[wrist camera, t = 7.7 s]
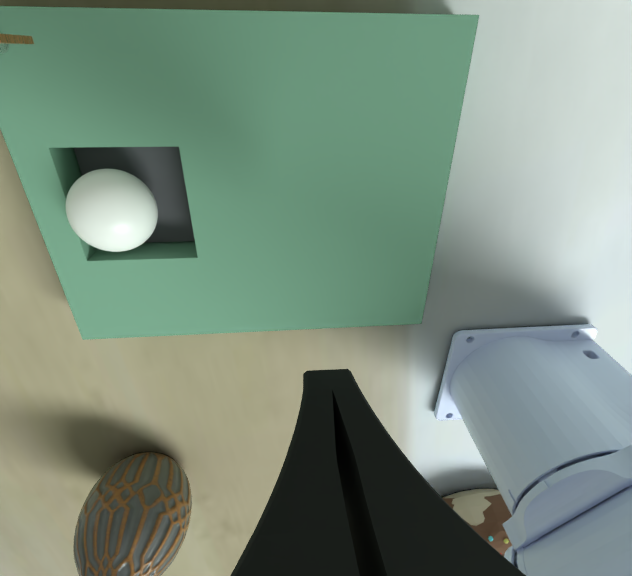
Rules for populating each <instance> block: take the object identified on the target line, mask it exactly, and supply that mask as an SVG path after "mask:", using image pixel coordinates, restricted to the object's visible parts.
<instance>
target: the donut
mask: <svg viewBox="0 0 632 576" xmlns="http://www.w3.org/2000/svg"><path fill="white" fill-rule="evenodd" d="M442 499H443V500H444V501H445V502H446V503H447V504H448V505H449V506H450V507H451V508H452V509H453V510H454V511H455V512H456V513H457V514H458V515H459V516H460V517H461V518H462V519H464V520H465V521H466V522H467V523H468V524H469V525H470V526H471V527H472V528H473V529H474V530H475V531H476V532H477V533H478V534H479V535H480V536H481V537H482V538H483V539H484V540H486V541H487V542H488V543H489V544H490V545H491V546H492V547H493V548H494V549H496V550H497V551H498V552H499V553H500V554H501V555H502V556H503V557H504V555H505V552H506V551H507V549H508V548H509V547H511V546H512V544H511V542H510V540H509V538H508V535H507V533H506V531H505V529H504V527H503V523H504V522H506V521H507V520H509V519H510V518H511V517H512V515H511V513H510V511H509V509H508V507H507V505H506V503H505V501H504V499H503V497H502V495H501V494H500V492H499V490H496V489H473V490H467V491H462V492H458V493H455V494H452V495H448V496H445V497H443V498H442Z"/></svg>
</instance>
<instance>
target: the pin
mask: <svg viewBox="0 0 632 576" xmlns="http://www.w3.org/2000/svg"><path fill="white" fill-rule="evenodd" d="M9 44H34V42H33V39H32V36H24V35H11V34H2V33H1V32H0V54H2V53H6V52H7V51H8V48H9Z"/></svg>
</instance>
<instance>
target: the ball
mask: <svg viewBox="0 0 632 576" xmlns="http://www.w3.org/2000/svg"><path fill="white" fill-rule="evenodd" d="M66 214H67V218H68V221H69V223H70V225H71V227H72V229H73V230H74V231H75V233H76V234H77V235H78V236H79V237H80V238H81V239H82V240H83V241H85V242H86V243H88V244H89V245H91V246H93V247H95V248H98V249H101V250H105V251H111V252H121V251H127V250H131V249H133V248H136V247H138V246H140V245H141V244H143V243H144V242H145V241H146V240H147V239H148V238H149V237H150V236H151V235H152V233H153V231H154V229H155V227H156V224H157V219H158V208H157V204H156V201H155V198H154V196H153V194H152V192H151V191H150V190H149V188H148V187H147V186H146V185H145V184H144V183H143V182H142V181H141V180H140V179H138V178H137V177H135V176H134V175H132V174H129V173H127V172H125V171H121V170H117V169H98V170H94V171H91V172H88V173H86V174H85V175H83V176H81V177H80V178H79V179H77V180H76V182H75V183H74V184H73V185H72V186H71V188H70V190H69V192H68V195H67V198H66Z"/></svg>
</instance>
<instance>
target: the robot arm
mask: <svg viewBox="0 0 632 576" xmlns="http://www.w3.org/2000/svg"><path fill="white" fill-rule="evenodd" d="M596 334H597V328H595V327H594V326H593V325H591V324H583V325H563V326H542V327H521V328H500V329H480V330H461V331H458V332H456V333H455V334H454V335H453V338H452V342H451V346H450V350H449V354H448V358H447V362H446V367H445V371H444V375H443V379H442V383H441V387H440V391H439V395H438V399H437V403H436V407H435V411H434V415H435V417H436V419H437V420H456V419H463V421H464V423H465V425H466V427H467V429H468V431H469V433H470V435H471V437H472V439H473V441H474V443H475V445H476V446H477V448H478V450H479V452H480V454H481V456H482V458H483V460H484V462H485V464H486V466H487V468H488V470H489V472H490V474H491V476H492V478H493V480H494V482H495V484H496V486H497V488H498V490H499V492H500V494H501V495H502V497H503V499H504V501H505V503H506V505H507V507H508V509H509V511H510V513H511V515H512V517H511V518H510V519H509V520H507V521H506V522H504V523H503V527H504V529H505V531H506V533H507V535H508V538H509V540H510V542H511V544H512V546H511V547H509V548H508V549H507V551H506V552H505V555H504V557H503V556H502V555H501V554H500V553H499V552H498V551H497V550H496V549H494V548H493V547H492V546H491V545H490V544H489V543H488V542H487V541H486V540H484V539H483V538H482V537H481V536H480V535H479V534H478V533H477V532H476V531H475V530H474V529H473V528H472V527H471V526H470V525H469V524H468V523H467V522H466V521H465V520H464V519H462V518H461V517H460V516H459V515H458V514H457V513H456V512H455V511H454V510H453V509H452V508H451V507H450V506H449V505H448V504H447V503H446V502H445V501H444V500H443V499H442V498H441V496H440V495H439V494H438V493H437V492H436V491H435V490H434V489H433V488H432V487H431V486H430V485H429V483H428V482H427V481H426V480H425V479H424V478H423V477H422V475H421V474H420V473H419V472H418V471H417V470H416V469H415V467H414V466H413V465H412V464H411V462H410V461H409V460H408V459H407V457H406V456H405V455H404V454H403V452H402V451H401V450H400V448H399V447H398V446H397V445H396V443H395V442H394V441H393V439H392V438H391V436H390V435H389V434H388V432H387V431H386V429H385V428H384V427H383V425H382V424H381V422H380V421H379V419H378V418H377V416H376V415H375V413H374V412H373V410H372V409H371V407H370V405H369V404H368V402H367V400H366V399H365V397H364V395H363V394H362V392H361V390H360V388H359V387H358V385H357V383H356V381H355V379H354V377H353V375H352V373H351V371H349V370H348V369H338V370H314V371H306V372H305V373H304V375H303V395H302V401H301V407H300V411H299V415H298V419H297V423H296V427H295V431H294V434H293V437H292V440H291V443H290V446H289V449H288V452H287V456H286V459H285V461H284V464H283V467H282V469H281V472H280V475H279V477H278V480H277V482H276V484H275V487H274V489H273V492H272V494H271V496H270V498H269V501H268V503H267V505H266V507H265V510H264V512H263V514H262V516H261V518H260V520H259V522H258V525H257V527H256V529H255V531H254V533H253V535H252V536H251V538H250V540H249V542H248V544H247V546H246V548H245V550H244V552H243V554H242V555H241V557H240V559H239V561H238V563H237V565H236V567H235V569H234V570H233V572H232V574H231V576H632V375H631V374H630V373H629V372H628V371H627V370H625V369H624V368H623V367H622V366H621V365H620V364H619V363H618V362H617V361H615V360H614V359H613V358H612V357H611V356H610V355H609V354H608V353H607V352H605V351H604V350H603V349H602V348H601V347H600V346H599V345H598V344H597V343H595V342H594V341H593V340H594V338H595V336H596ZM468 337H470V338H469V339H467V338H468Z"/></svg>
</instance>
